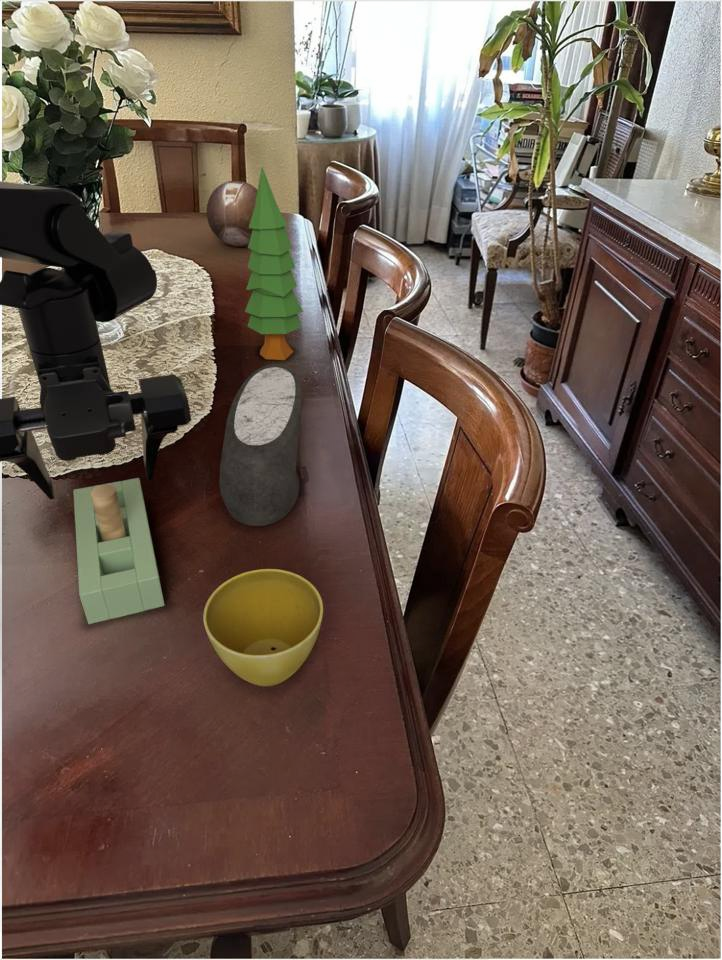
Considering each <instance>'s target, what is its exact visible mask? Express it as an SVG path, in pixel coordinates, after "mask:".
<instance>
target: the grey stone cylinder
mask: <svg viewBox="0 0 722 960" xmlns="http://www.w3.org/2000/svg"><path fill="white" fill-rule="evenodd" d="M302 408H303V389H302V383H301V380H300V378H299V376H298V373H296V371H295V370H294V369H293V368H291V367H290V366H288V365H285V364H281V363H272V364H271V363H270V364H267V365H264V366H262V367H260V368H258V369H257V370H255V371H253V372H252V373H251V374H250V375H249V376H248V377H247V378H246V379H245V380H244V382H243V383H242V385H241V386H240V388H239V389H238V391H237V392H236V394H235V396H234V398H233V401H232V403H231V406H230V408H229V411H228V414H227V418H226V424H225V430H224V438H223V443H222V450H221V457H220V467H219V490H220V496H221V498H222V501H223V503H224V505H225V507H226V510H227V511H228V513H229V515H230V516H231V517H232V518H233V519H234V521H236V522H238V523H239V524H242V525H246V526H250V527H264V526H268V525H272V524H275V523H277V522H280V521H281V520H282V519H284V518H286V516H288V514H289V513H290V512H291V511H292V509H293V508H294V506H296V502H297V501H298V498H299V495H300V494H299V493H300V477H299V475H298V472H297V461H298V451H299V450H298V447H299V437H300V428H301V419H302Z"/></svg>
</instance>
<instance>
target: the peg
mask: <svg viewBox="0 0 722 960" xmlns="http://www.w3.org/2000/svg"><path fill="white" fill-rule="evenodd" d="M99 485H100V486H97V485H96V486H97V487H95V488H94V489H93V490H92V491H91V498H92V502H93V506H94V509H95V513H96V517H97V521H98V524H99V528H100V532H101V536H102V539H103V542H104V541H109V540H114V539H119V538H123V537H127V535H126V531H125V527H124V522H123V518H122V514H121V510H120V506H119V501H118V497H117V493H116V489H115V487H114V486H112V485H102V484H99Z"/></svg>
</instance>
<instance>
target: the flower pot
mask: <svg viewBox="0 0 722 960" xmlns="http://www.w3.org/2000/svg"><path fill="white" fill-rule="evenodd" d="M323 603H324V602H323V599H322V597H321V594H320V593H319V591H318V590H317V588H316V587H315V586H314V585H313V584H312V583H311V582H310V581H309V580H308V579H306V578H304V577H303V576H301V575H299V574H296V573H294V572H292V571H288V570H284V569H276V568H261V569H254V570H249V571H245V572H242V573H239V574H237V575H235V576H233V577H231V578H229V579H227V580H226V581H224V582H222V583H221V584H220V585H219V586H218V587H216V589H215V590H214V591H213V592H211V595H210V596H209V597H208V599H207V601H206V603H205V606H204V609H203V615H202V617H203V618H202V619H203V625H204V626H203V627H204V629H205V632H206V635H207V637H208V640H209V641H210V643H211V645H212V647H213V649H214V651H215V652H216V654H217V655H218V657H219V658H220V660H221V661H222V662H223V663H224V665H225V666H226V667H227V668H228V669H229V670H230V671H232V672H233V673H234V674H235V675H236V676H237V677H239V678H241V679H242V680H244V681H245V682H247V683H250V684H252V685H254V686H258V687H272V686H273V687H274V686H276V685H280V684H281V683H283V682H285V681H287V680H289V678H290V677H292V676H293V675H294V674H295V673H296V672H297V671H298V670H299V669H300V668H301V666H302V665H303V664H304V663H305V661H306V660H307V659H308V657H309V655H310V654H311V652H312V650H313V648H314V647H315V644H316V641H317V639H318V636H319V632H320V630H321V626H322V622H323V615H324V604H323Z"/></svg>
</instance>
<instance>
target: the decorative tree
mask: <svg viewBox="0 0 722 960" xmlns="http://www.w3.org/2000/svg"><path fill="white" fill-rule="evenodd" d="M260 168H261V169H260V174H259V179H258V185H257V190H258V191H257V197H256V203H255V208H254V211H253V215H252V218H251V221H250V225H249V228H253V231H252V234H251V238H250V241H249V245H248V246H247V248H248V249H249V250H251V252H250V256H249V260H248V262H247V263H248V264H247V269H248V270H251V274H250V276H249V279H248V281H247V282H248V283H247V286H246V288H245V291H252V292H251V295H250V298H249V299H248V302H247V305H246V307H245V309H244V312H245V313H247V314H250V316H249V319H248V324H247V328H249V329H251V330H253V331H255V332H256V333H259V334H260V335H264V342H263V345H262V346H261V347H260V351H259V355H260V356H261V357H262V358H263V359H265V360H276V361H277V360H279V361H285V360H287V359H288V358H289V357H290V356H291V355H292V354H293V353H294V350H293V348H291V347H290V345H289V344H288V342H287V341H286V337H285V335H287V334H289V333H291V332H293V331H296V330H297V329H300V328H301V327H302V324H301V321H300V318H299V316H298V314H301V313H303V312H304V310H303V308H302V306H301V304H300V302H299V300H298V298H297V296H296V294H295V292H294V289H295V288H296V287H297V286H298V285H297V282H296V280H295V278H294V275H293V273H292V270H294V269H296V266H295V263H294V259H293V258H292V256H291V255H292V254H291V252H290V250H292V249H293V246H292V244H291V240H290V237H289V235H288V233H287V230H286V227H288V226H289V225H288V223H287V221H286V219H285V217H284V215H283V213H282V211H281V210H280V209H281V208H280V207H279V205H278V203H277V201H276V198H275V195H274V193H273V191H272V188H271V184H270V183H269V180H268V178H267V175H266V172H265V170H264V168H263V166H261V167H260Z"/></svg>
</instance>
